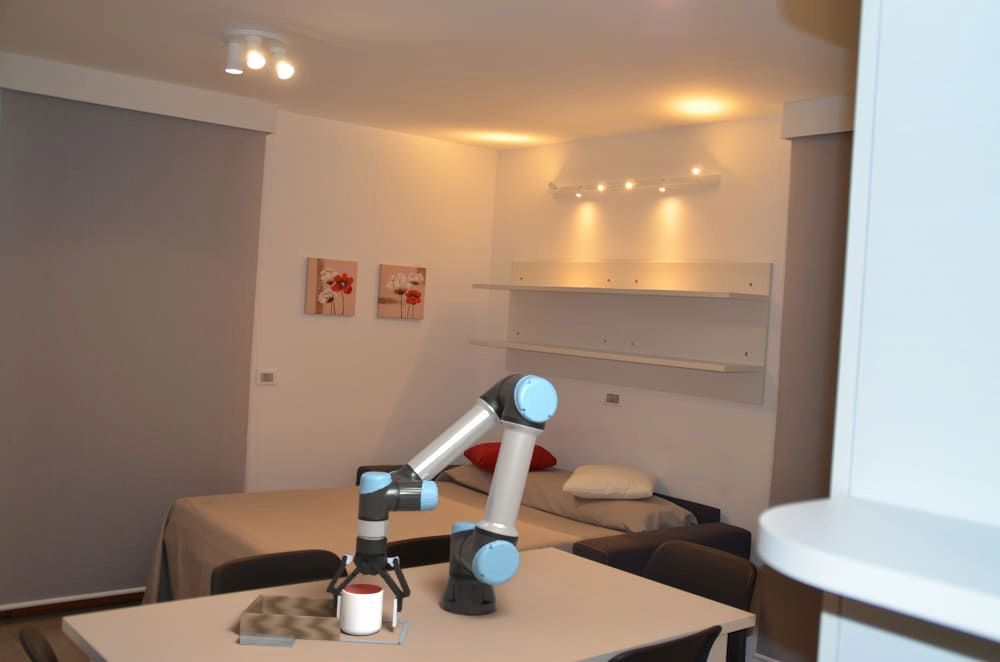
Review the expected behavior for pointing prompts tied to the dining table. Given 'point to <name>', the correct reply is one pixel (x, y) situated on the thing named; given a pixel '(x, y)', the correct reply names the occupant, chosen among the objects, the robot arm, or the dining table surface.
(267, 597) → the cubby
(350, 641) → the pale blue bent rod
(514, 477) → the robot arm
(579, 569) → the dining table surface
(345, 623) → the cup
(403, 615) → the dining table surface
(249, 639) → the hook bar
